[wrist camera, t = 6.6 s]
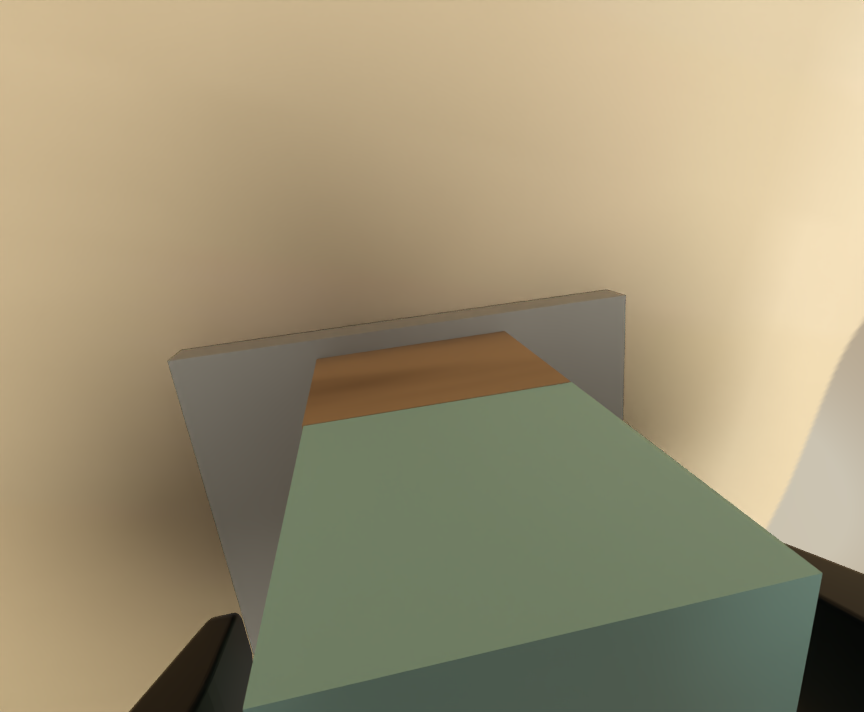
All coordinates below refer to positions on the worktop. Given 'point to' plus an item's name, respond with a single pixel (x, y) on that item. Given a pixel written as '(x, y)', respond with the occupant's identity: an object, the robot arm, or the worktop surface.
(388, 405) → the walnut base
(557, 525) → the teal block
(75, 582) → the worktop surface
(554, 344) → the board
